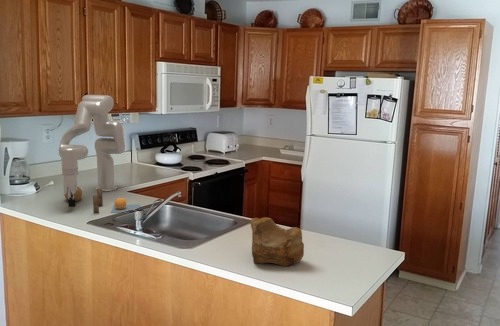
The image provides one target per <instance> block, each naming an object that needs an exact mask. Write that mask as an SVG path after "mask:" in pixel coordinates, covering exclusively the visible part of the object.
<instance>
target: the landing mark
mask: <svg viewBox="0 0 500 326" xmlns="http://www.w3.org/2000/svg"><path fill="white" fill-rule="evenodd" d="M139 207H140V208H141V203H137V204H135V203H134V204H126V206H125V208H123V209H117V208H116V207H115V204H114V205H113V206H112V208H111V210H110V214H115V213H117V214H118V213H121V212H124V211H127V210H135V209H137V208H139ZM124 213H125V212H124ZM121 214H122V213H121Z"/></svg>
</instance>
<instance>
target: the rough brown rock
mask: <svg viewBox="0 0 500 326" xmlns="http://www.w3.org/2000/svg"><path fill="white" fill-rule="evenodd" d="M249 223H250V227H251V232H252V233H251V235H252V237H251V239H252V240H251V242H252V244H251V256H252V262H253V263H254V264H265V263H270V264H271V263H272V264H276V265H279V266H284V267H290V266H291V265H295V264H297V263H299V262H301V261H302V259H303V258H304V256H305V255H304V254H305V252H304V247H305V245H304V242H303V232H302V229H301V228H299V227H297V226H296V227H295V226H294V227H293V226H292V227H290V228H287V229H285V228H283V227H281V226H279V225H277V224H276V223H275V221H274V220H273V219H272V218H271V217H266V216H265V217H261V218H259V217H253V218H251V219H250V222H249Z"/></svg>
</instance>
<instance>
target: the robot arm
mask: <svg viewBox="0 0 500 326" xmlns="http://www.w3.org/2000/svg"><path fill="white" fill-rule="evenodd" d="M114 105H115V102H114V98H113V97H112V96H111V95H107V94H86V95H84V96H82V98H81V101H80V102H78V105H77V109H76V112H75V117H74V121H73V125H72V126H71V127H70V128H68V129H67V130H66V131H65V133H64V134H63V135H62V137H61V139H60V141H59V142H60V143H59V147H58V156H59V157H60V158H61V161H60V162H61V171H62V172H61V173H62V175H61V176H63V196H64V195H66V194H67V193H68V199H67V202H68V203H67V204H68V208H74V207H76V206H77V204H76V203H77V201H75V199H74V198H75V192H76V191H77V187H78V181H77V180H78V179H77V175H79V167H78V161H79V160H80V161H81V160H85V159H86V158H87V157H88V155H89V149H88V148H87V146H85V145H83V144H82V145H81V144H70V143H71V141H72V140H73V139H75V138H77V137H79V136H80V135H81V136H82V135H83V134H85V133H87V132H89V131H90V130H91V126H92V122H93V128H94V132H95V135H96V136H97V137H98V138H96V139H95V141H94V149H95V154H96V164H97V167H96V169H97V171H96V172H97V186H96V187H95V191H97V189H102V192H113V191H116V190H118V186H117V185H115V169H114V168H115V166H114V165H115V164H114V159H113V157H112V155H114V154H115V155H121V154H124V152H125V150H126V145H125V137H124V135H125V134H124V128H123V124H122V122H120V121H117V120H110V119H109V115H108V113H109V112H110V111H112V109H113V108H114Z"/></svg>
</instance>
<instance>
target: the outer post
mask: <svg viewBox="0 0 500 326" xmlns="http://www.w3.org/2000/svg"><path fill="white" fill-rule="evenodd" d="M92 206H93V207H92V208H93V209H92V210H93V214H95V215H97V214H100V207H99V202H98V195H97V194H94V195H92Z"/></svg>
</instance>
